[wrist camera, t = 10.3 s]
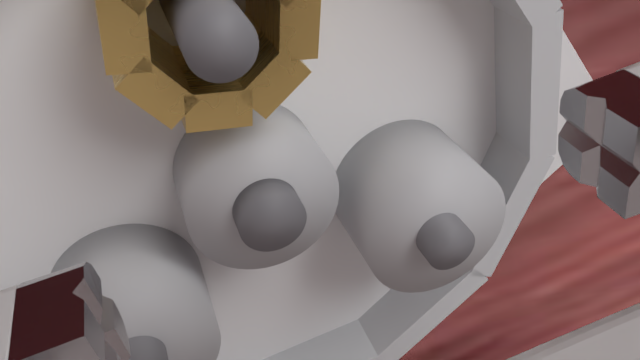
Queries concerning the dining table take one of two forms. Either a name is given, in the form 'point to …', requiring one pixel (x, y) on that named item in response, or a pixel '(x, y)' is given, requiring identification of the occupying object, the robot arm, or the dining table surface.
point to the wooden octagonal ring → (193, 92)
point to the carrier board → (132, 148)
